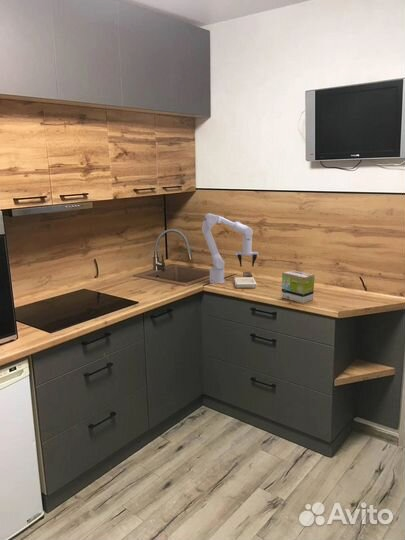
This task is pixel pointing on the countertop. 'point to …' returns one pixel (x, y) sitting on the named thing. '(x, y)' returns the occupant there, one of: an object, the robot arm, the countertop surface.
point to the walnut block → (247, 274)
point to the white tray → (245, 282)
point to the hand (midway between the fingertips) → (246, 266)
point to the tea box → (297, 286)
